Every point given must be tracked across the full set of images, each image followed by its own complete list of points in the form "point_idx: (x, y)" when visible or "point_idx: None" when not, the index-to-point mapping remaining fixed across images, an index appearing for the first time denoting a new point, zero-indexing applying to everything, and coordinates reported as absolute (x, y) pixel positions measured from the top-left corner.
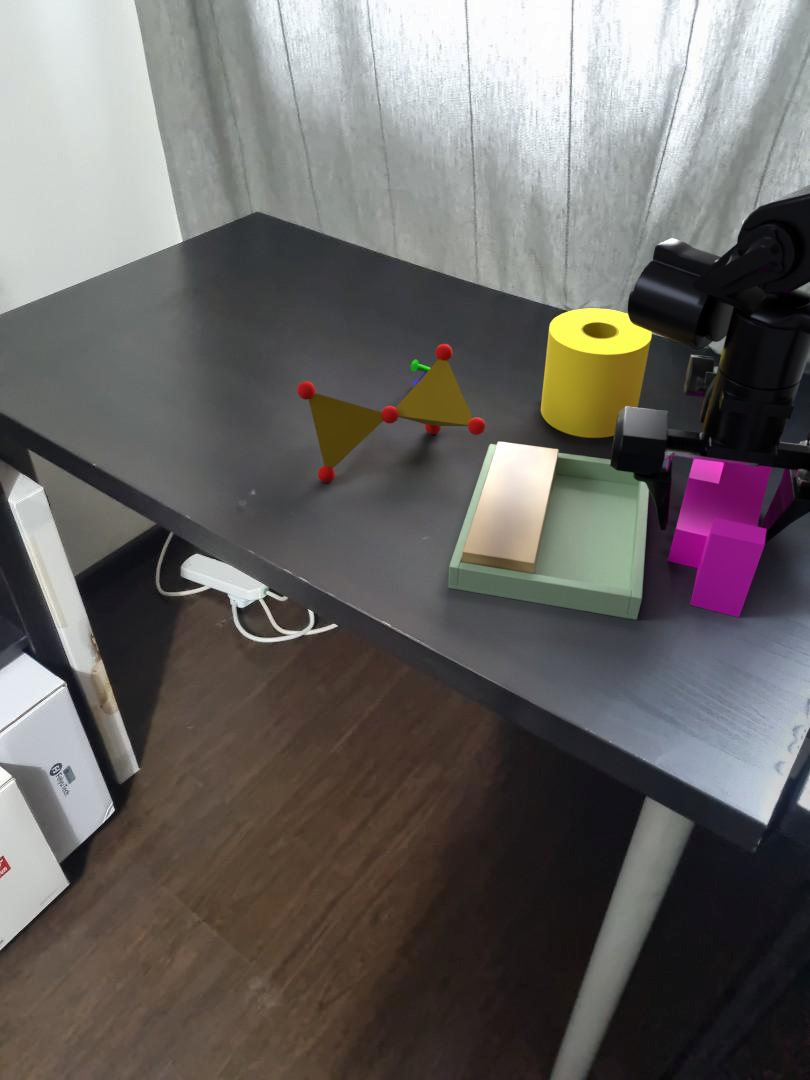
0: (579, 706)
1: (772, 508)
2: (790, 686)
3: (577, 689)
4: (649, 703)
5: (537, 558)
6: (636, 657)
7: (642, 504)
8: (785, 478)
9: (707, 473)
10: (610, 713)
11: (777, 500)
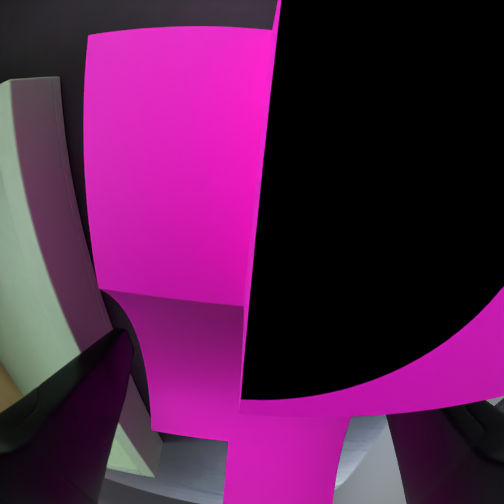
0: (152, 488)
1: (419, 425)
2: (345, 468)
3: (143, 481)
4: (206, 490)
5: (10, 394)
6: (180, 469)
7: (47, 300)
8: (477, 498)
9: (174, 234)
10: (177, 492)
11: (433, 456)
